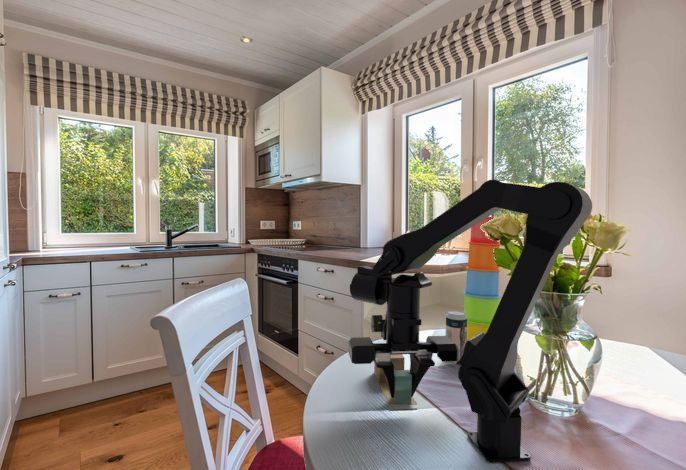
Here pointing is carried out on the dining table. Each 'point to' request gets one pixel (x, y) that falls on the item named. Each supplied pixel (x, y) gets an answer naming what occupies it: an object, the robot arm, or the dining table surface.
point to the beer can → (457, 330)
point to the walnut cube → (397, 362)
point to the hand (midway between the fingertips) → (401, 396)
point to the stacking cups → (481, 282)
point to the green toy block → (400, 390)
